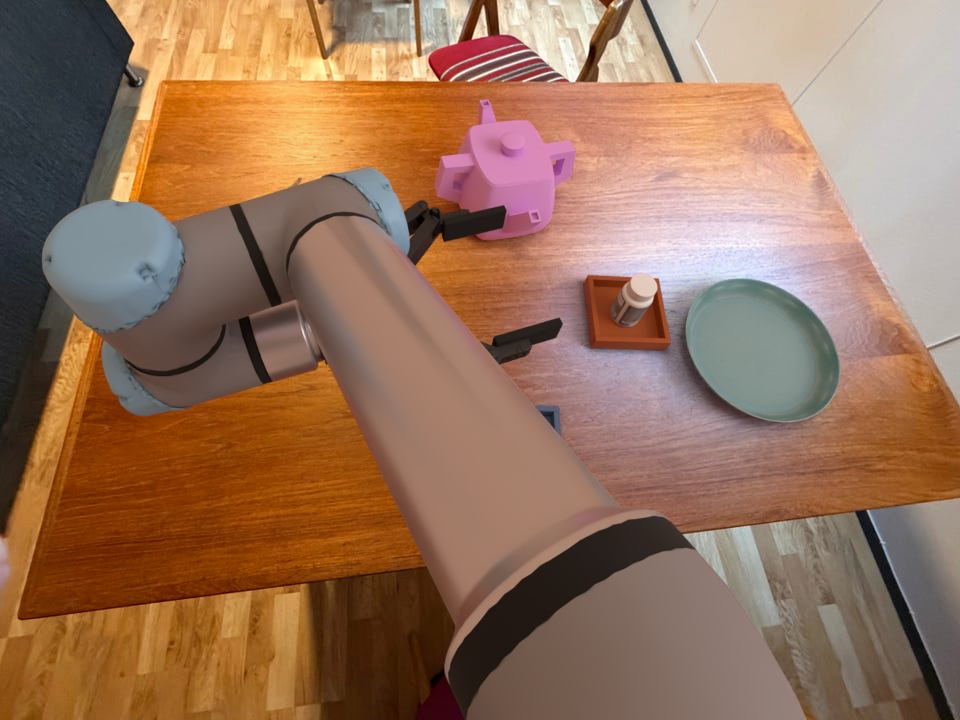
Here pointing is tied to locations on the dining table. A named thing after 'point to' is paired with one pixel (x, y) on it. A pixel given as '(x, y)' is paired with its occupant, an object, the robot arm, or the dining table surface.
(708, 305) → the saucer
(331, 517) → the dining table surface
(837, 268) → the dining table surface
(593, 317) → the burnt orange tray
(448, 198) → the teapot
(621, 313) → the pill bottle
